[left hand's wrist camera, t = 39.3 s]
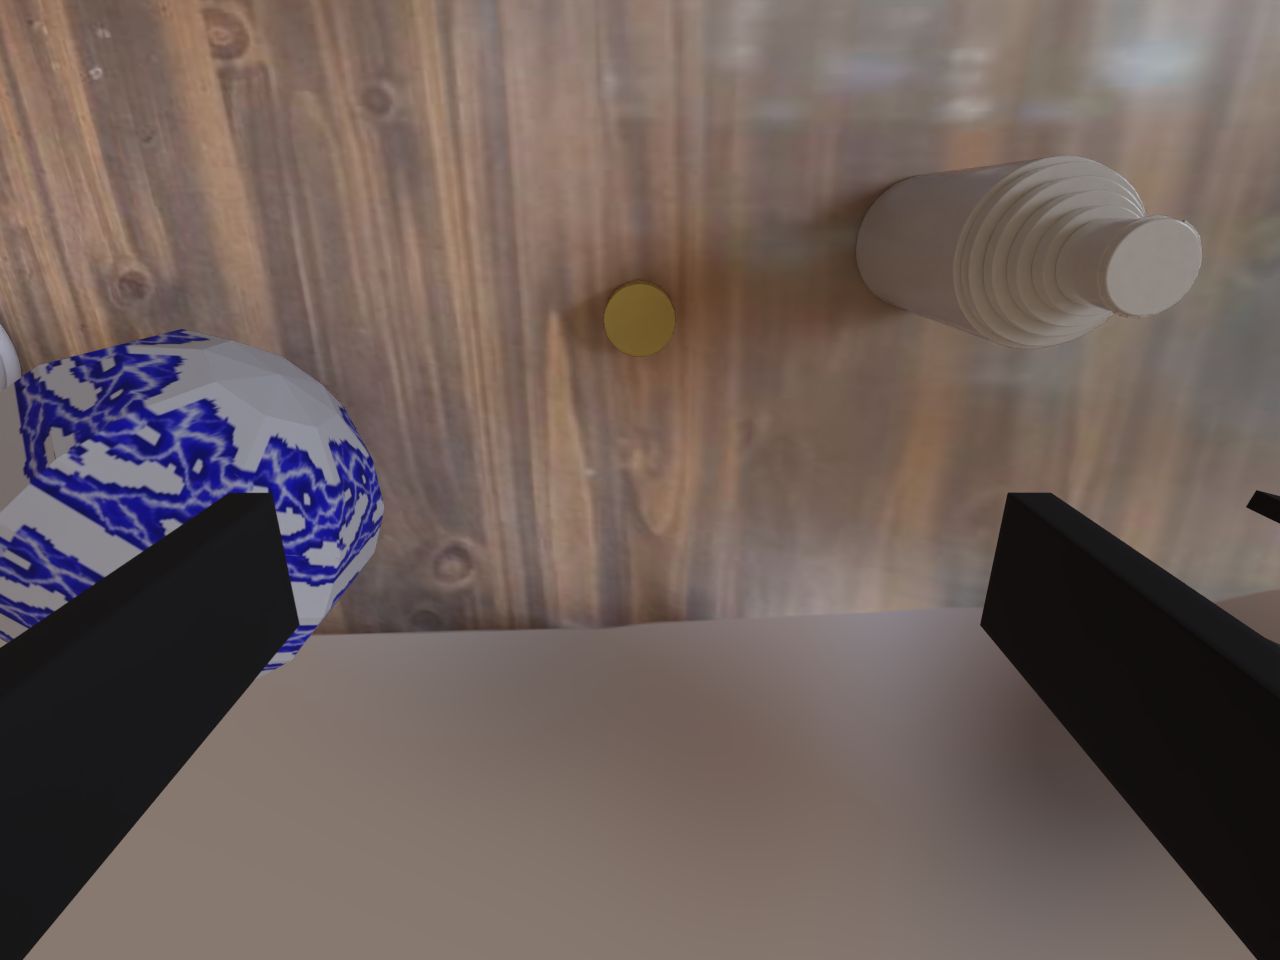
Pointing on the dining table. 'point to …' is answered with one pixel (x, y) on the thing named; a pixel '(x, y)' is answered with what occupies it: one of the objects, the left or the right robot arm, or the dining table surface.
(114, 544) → the ornament
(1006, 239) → the bottle
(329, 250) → the dining table surface
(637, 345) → the cap
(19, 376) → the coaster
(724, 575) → the dining table surface
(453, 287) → the dining table surface
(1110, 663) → the left robot arm
